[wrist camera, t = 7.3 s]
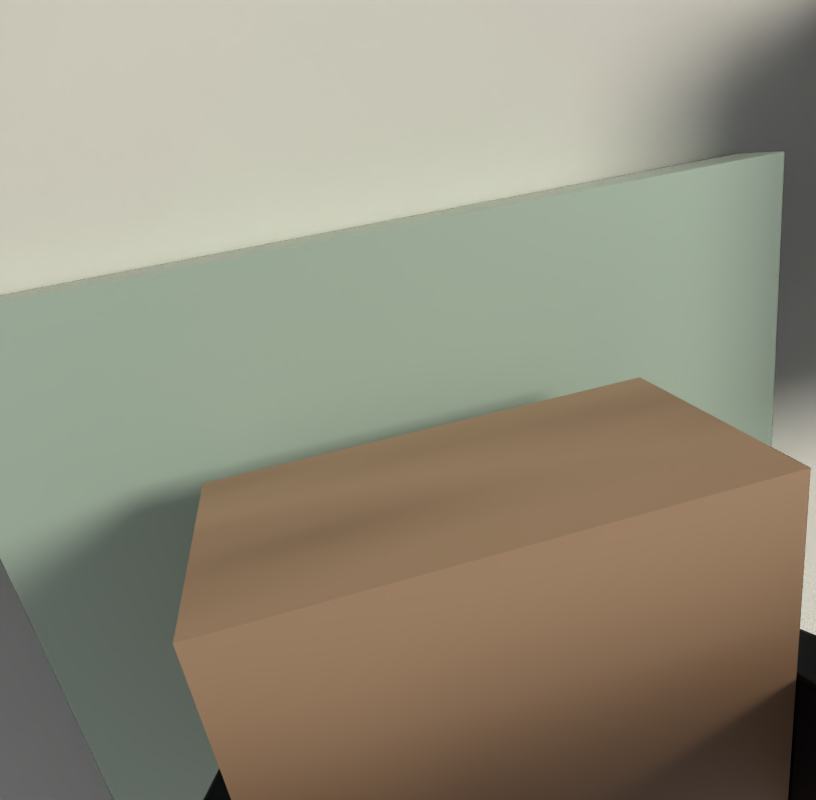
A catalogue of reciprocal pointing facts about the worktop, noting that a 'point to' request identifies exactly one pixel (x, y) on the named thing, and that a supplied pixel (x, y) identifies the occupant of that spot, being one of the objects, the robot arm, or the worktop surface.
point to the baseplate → (339, 392)
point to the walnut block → (505, 610)
